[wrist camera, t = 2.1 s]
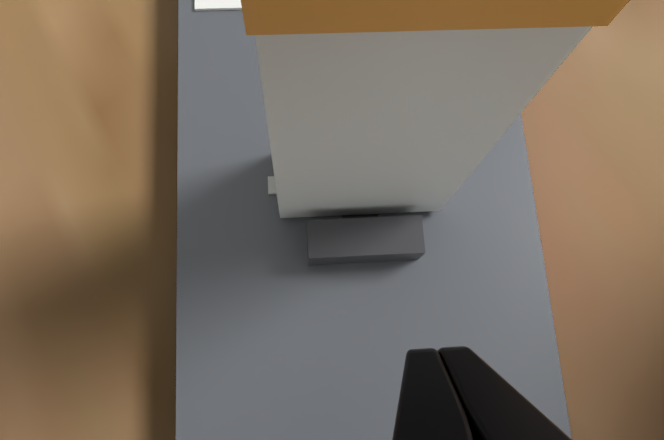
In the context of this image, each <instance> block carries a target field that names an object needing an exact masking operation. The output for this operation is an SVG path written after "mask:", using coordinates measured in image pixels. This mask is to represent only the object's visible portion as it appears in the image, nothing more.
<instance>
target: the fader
mask: <svg viewBox="0 0 664 440" xmlns="http://www.w3.org/2000/svg"><path fill="white" fill-rule="evenodd" d="M629 1H630V0H241V6H242V12H243V18H244V25H245V31H246V35H255V38H256V45H257V52H258V60H259V67H260V75H261V82H262V89H263V97H264V104H265V111H266V119H267V126H268V133H269V141H270V148H271V156H272V163H273V170H274V178H275V185H276V192H277V200H278V207H279V215H280V218H296V217H318V216H339V215H361V214H383V213H404V212H426V211H440V210H441V209H442V207H443V206H444V205H445V204H446V203H447V201H448V200H449V199H450V198H451V197H452V195H453V194H454V193H455V192H456V191H457V189H458V188H459V187H460V186H461V185H462V183H463V182H464V181H465V180H466V179H467V177H468V176H469V175H470V174H471V173H472V171H473V170H474V169H475V168H476V166H477V165H478V164H479V163H480V162H481V160H482V159H483V158H484V157H485V156H486V154H487V153H488V152H489V151H490V150H491V148H492V147H493V146H494V145H495V144H496V142H497V141H498V140H499V139H500V138H501V136H502V135H503V134H504V133H505V132H506V130H507V129H508V128H509V127H510V125H511V124H512V123H513V122H514V121H515V119H516V118H517V117H518V116H519V115H520V113H521V112H522V111H523V110H524V109H525V107H526V106H527V105H528V104H529V103H530V101H531V100H532V99H533V98H534V97H535V95H536V94H537V93H538V92H539V91H540V89H541V88H542V87H543V86H544V84H545V83H546V82H547V81H548V80H549V78H550V77H551V76H552V75H553V74H554V72H555V71H556V70H557V69H558V68H559V66H560V65H561V64H562V63H563V62H564V60H565V59H566V58H567V57H568V56H569V54H570V53H571V52H572V51H573V50H574V48H575V47H576V46H577V45H578V44H579V42H580V41H581V40H582V39H583V37H584V36H585V35H586V34H587V33H588V31H589V30H590V29H591V28H592V27H593V26H608V25H609V24H610V23H611V21H612V20H613V19H614V18H615V17H616V16H617V14H618V13H619V12H620V11H621V10H622V9H623V8H624V6H625V5H626V4H627V3H628V2H629Z"/></svg>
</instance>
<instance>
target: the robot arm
mask: <svg viewBox="0 0 664 440" xmlns="http://www.w3.org/2000/svg"><path fill="white" fill-rule="evenodd" d="M392 440H572V439H571V438H569V437H568V436H567V435H566V434H565V433H564V432H563V431H562V430H561V429H559V428H558V427H557V426H556V425H555V424H554V423H553V422H552V421H551V420H549V419H548V418H547V417H546V416H545V415H544V414H543V413H542V412H541V411H539V410H538V409H537V408H536V407H535V406H534V405H533V404H532V403H531V402H529V401H528V400H527V399H526V398H525V397H524V396H523V395H522V394H520V393H519V392H518V391H517V390H516V389H515V388H514V387H513V386H512V385H510V384H509V383H508V382H507V381H506V380H505V379H504V378H503V377H502V376H500V375H499V374H498V373H497V372H496V371H495V370H494V369H493V368H492V367H490V366H489V365H488V364H487V363H486V362H485V361H484V360H483V359H482V358H480V357H479V356H478V355H477V354H476V353H475V352H474V351H473V350H471V349H470V348H468V347H466V346H456V347H442V348H440V349H439V350H438V351H437V350H436V349H434V348H423V349H410V350H408V352H407V354H406V358H405V365H404V371H403V377H402V383H401V389H400V395H399V401H398V407H397V413H396V419H395V426H394V432H393V438H392Z"/></svg>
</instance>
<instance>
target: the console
mask: <svg viewBox="0 0 664 440" xmlns="http://www.w3.org/2000/svg"><path fill="white" fill-rule="evenodd" d="M456 346H466V347H468V348H470V349H471V350H473V351H474V352H475V353H476V354H477V355H478V356H479V357H480V358H482V359H483V360H484V361H485V362H486V363H487V364H488V365H489V366H490V367H492V368H493V369H494V370H495V371H496V372H497V373H498V374H499V375H500V376H502V377H503V378H504V379H505V380H506V381H507V382H508V383H509V384H510V385H512V386H513V387H514V388H515V389H516V390H517V391H518V392H519V393H520V394H522V395H523V396H524V397H525V398H526V399H527V400H528V401H529V402H531V403H532V404H533V405H534V406H535V407H536V408H537V409H538V410H539V411H541V412H542V413H543V414H544V415H545V416H546V417H547V418H548V419H549V420H551V421H552V422H553V423H554V424H555V425H556V426H557V427H558V428H559V429H561V430H562V431H563V432H564V433H565V434H566V435H567V436H568V437H569V438H571V439H572V437H571V431H570V424H569V418H568V412H567V405H566V399H565V392H564V386H563V380H562V373H561V367H560V360H559V354H558V348H557V341H556V335H555V328H554V322H553V316H552V309H551V303H550V296H549V290H548V284H547V277H546V271H545V264H544V258H543V251H542V245H541V239H540V232H539V226H538V219H537V213H536V207H535V200H534V194H533V187H532V181H531V175H530V168H529V162H528V155H527V149H526V143H525V136H524V130H523V123H522V117H521V113H520V115H519V116H518V117H517V118H516V119H515V121H514V122H513V123H512V124H511V125H510V127H509V128H508V129H507V130H506V132H505V133H504V134H503V135H502V136H501V138H500V139H499V140H498V141H497V142H496V144H495V145H494V146H493V147H492V148H491V150H490V151H489V152H488V153H487V154H486V156H485V157H484V158H483V159H482V160H481V162H480V163H479V164H478V165H477V166H476V168H475V169H474V170H473V171H472V173H471V174H470V175H469V176H468V177H467V179H466V180H465V181H464V182H463V183H462V185H461V186H460V187H459V188H458V189H457V191H456V192H455V193H454V194H453V195H452V197H451V198H450V199H449V200H448V201H447V203H446V204H445V205H444V206H443V207H442V209H441V210H440V211H426V212H404V213H383V214H361V215H339V216H318V217H296V218H280V215H279V207H278V200H277V192H276V185H275V178H274V170H273V163H272V156H271V148H270V141H269V133H268V126H267V119H266V111H265V104H264V97H263V89H262V82H261V75H260V67H259V60H258V52H257V45H256V38H255V35H246V31H245V25H244V18H243V12H242V6H241V0H178V154H177V313H176V440H392V438H393V432H394V426H395V419H396V413H397V407H398V401H399V395H400V389H401V383H402V377H403V371H404V365H405V358H406V354H407V352H408V350H410V349H423V348H434V349H436V350H437V351H438V350H439V349H440V348H442V347H456Z"/></svg>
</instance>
